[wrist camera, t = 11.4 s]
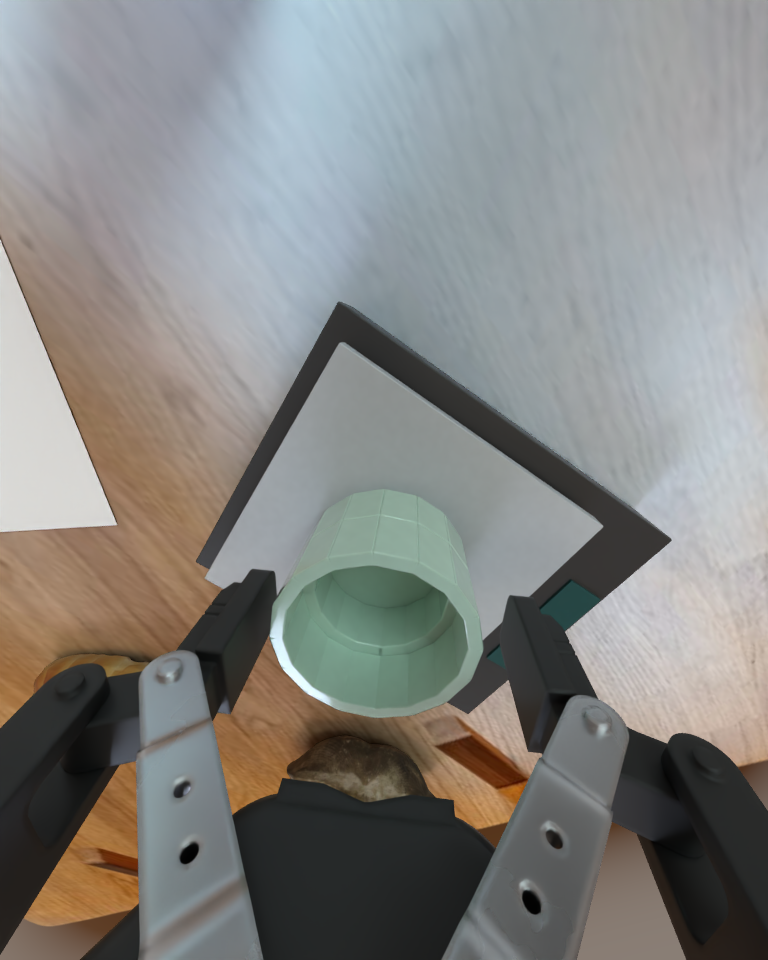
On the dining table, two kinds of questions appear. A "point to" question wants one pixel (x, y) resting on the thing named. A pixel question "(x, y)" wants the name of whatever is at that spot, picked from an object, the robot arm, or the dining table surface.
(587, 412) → the dining table surface
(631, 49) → the dining table surface
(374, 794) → the fossilized seashell
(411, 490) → the scale
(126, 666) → the pastry
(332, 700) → the cup
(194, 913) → the robot arm
